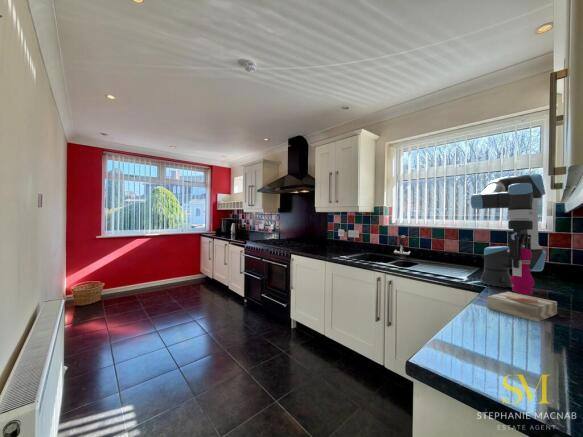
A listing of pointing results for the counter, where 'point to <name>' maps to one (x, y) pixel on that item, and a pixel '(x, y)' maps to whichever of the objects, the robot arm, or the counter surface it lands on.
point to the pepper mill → (524, 275)
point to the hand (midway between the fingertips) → (520, 275)
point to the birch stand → (522, 305)
